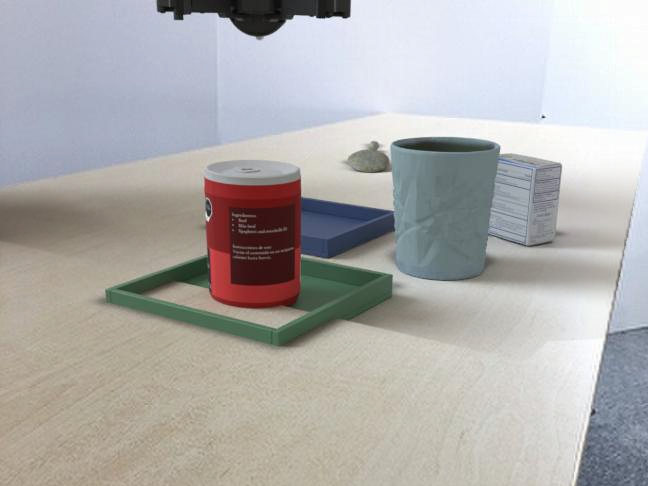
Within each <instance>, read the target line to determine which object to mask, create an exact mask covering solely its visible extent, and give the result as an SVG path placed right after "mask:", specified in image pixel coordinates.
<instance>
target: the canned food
mask: <svg viewBox="0 0 648 486" xmlns="http://www.w3.org/2000/svg"><path fill="white" fill-rule="evenodd" d="M203 181H204V182H203V183H204V212H205V234H206V235H205V237H206V255H207V261H208V285H209V289H208V292H209V294H210V296H211V298H212V299H213V300H214V301H216V302H217V303H219V304H222V305H226V306H230V307H234V308H241V309H269V308H275V307H285V308H286V307H287V308H290V307H289V306H291V305H292V304H294V303H295V302H296V301H297V299H298V296H299V293H300V288H301V257H302V253H301V197H302V174H301V168H300V167H299V166H297V165H295V164H292V163H289V162H285V161H277V160H269V159H268V160H266V159H234V160H233V159H231V160H225V161H219V162H213V163H211V164H209V165H206V166H205V167H204V175H203Z"/></svg>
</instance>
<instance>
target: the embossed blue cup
mask: <svg viewBox="0 0 648 486" xmlns="http://www.w3.org/2000/svg"><path fill="white" fill-rule="evenodd" d="M389 149H390V164H391V165H390V166H391V176H392V179H391V180H392V187H393V189H392V197H393V201H392V205H393V207H394V208H393V211H395V212H394V219H395V224H394V227H395V230H394V237H395V242H396V243H395V262H396V267H397V269H398V270H399V271H400V272H402V273H404V274H406V275H408V276H412V277H416V278H420V279H424V280H433V281H434V280H435V281H437V280H438V281H459V280H465V279H471V278H474V277H478V276H480V275H482V273H483V271H484V269H485V264H486V262H485V261H486V256H487V246H488V243H487V241H488V240H489V234H488V229H489V226H490V224H489V222H490V216H491V211H490V209H491V208H492V199H493V198H494V189H495V183H494V180H495V178H496V174H497V168H498V161H499V155H500V154H501V145H500V144H499V143H497V142H496V141H491V140H488V139H482V138H473V137H464V136H463V137H461V136H421V137H419V136H418V137H410V138H409V137H407V138H402V139H397V140H394V141H391V144H390V145H389Z"/></svg>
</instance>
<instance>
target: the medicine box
mask: <svg viewBox="0 0 648 486" xmlns="http://www.w3.org/2000/svg"><path fill="white" fill-rule="evenodd" d="M562 172H563V164H562V163H561V162H557V161H553V160H549V159H544V158H538V157H533V156H528V155H523V154H518V153H513V152H511V153H509V152H508V153H507V152H506V153H500V155H499V161H498V168H497V174H496V178H495V180H494V183H495V189H494V198H493V199H492V208H491V209H490V211H491V216H490V222H489V224H490V226H489V229H488V235H491V236H494V237H497V238H501V239H504V240H507V241H510V242H513V243H516V244H519V245H524V246H527V247H531V246H537V245H543V244H548V243H552V242H553V241H555V240H556V233H557V223H558V214H559V213H558V211H559V203H560V193H561V192H560V191H561V183H562V174H563V173H562Z"/></svg>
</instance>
